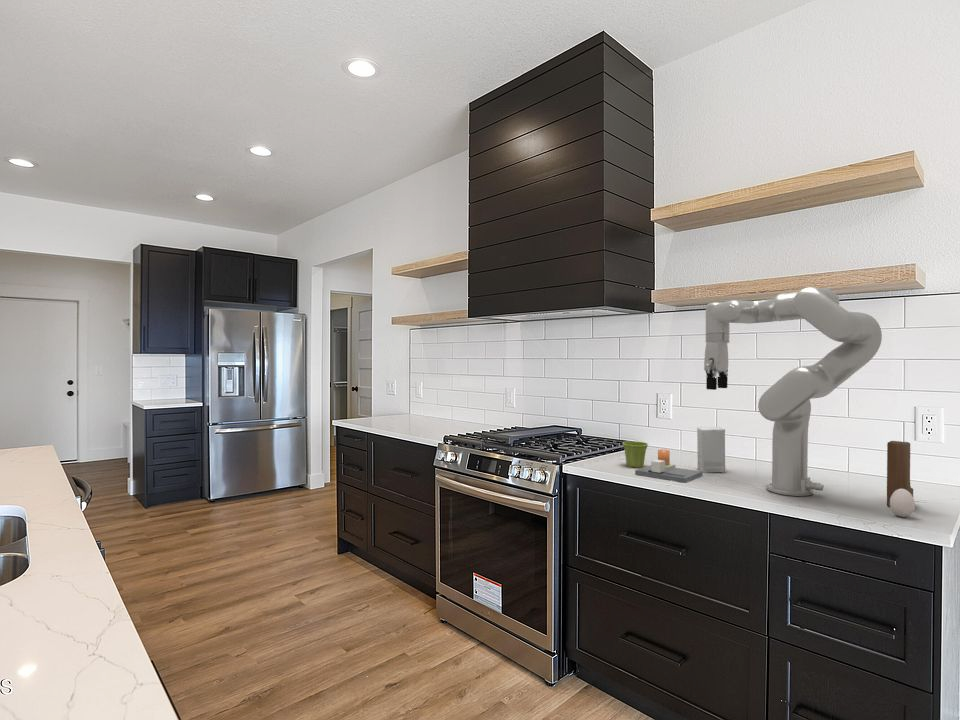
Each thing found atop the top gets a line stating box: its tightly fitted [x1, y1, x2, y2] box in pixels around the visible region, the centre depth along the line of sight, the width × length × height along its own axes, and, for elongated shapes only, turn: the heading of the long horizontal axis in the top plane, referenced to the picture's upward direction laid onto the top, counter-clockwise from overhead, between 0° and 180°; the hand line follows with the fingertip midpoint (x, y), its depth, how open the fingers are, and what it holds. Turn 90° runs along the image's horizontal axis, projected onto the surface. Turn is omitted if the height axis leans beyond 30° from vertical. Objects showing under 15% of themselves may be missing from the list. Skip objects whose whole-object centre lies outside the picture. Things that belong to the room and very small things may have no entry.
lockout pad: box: [665, 463, 676, 470], centre depth 202 cm, size 6×6×1 cm
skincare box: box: [696, 426, 726, 474], centre depth 202 cm, size 8×7×16 cm
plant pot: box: [622, 440, 649, 468], centre depth 211 cm, size 9×9×9 cm
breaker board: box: [634, 465, 704, 484], centre depth 196 cm, size 18×14×2 cm
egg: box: [889, 489, 916, 518], centre depth 146 cm, size 5×5×7 cm
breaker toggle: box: [650, 459, 665, 473], centre depth 194 cm, size 3×4×4 cm
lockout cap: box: [657, 449, 671, 466], centre depth 202 cm, size 4×4×5 cm
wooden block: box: [886, 440, 914, 508], centre depth 157 cm, size 9×4×18 cm, turn 133°
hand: (717, 388), depth 193 cm, fingers open, 9 cm apart
